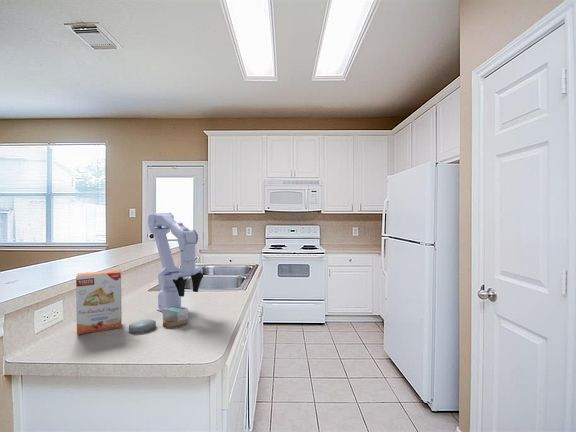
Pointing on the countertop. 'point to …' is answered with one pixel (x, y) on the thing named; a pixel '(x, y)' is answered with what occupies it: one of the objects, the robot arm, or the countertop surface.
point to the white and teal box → (175, 314)
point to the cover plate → (175, 309)
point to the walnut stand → (174, 323)
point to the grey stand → (142, 326)
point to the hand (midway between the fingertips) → (188, 293)
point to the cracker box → (98, 301)
